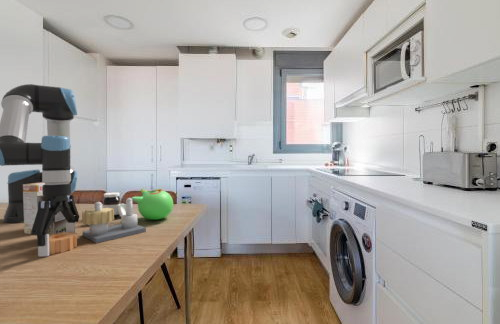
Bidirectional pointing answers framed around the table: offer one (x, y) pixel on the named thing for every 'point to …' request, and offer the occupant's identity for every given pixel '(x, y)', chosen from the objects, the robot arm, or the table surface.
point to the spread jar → (114, 204)
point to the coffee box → (55, 220)
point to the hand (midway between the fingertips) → (58, 248)
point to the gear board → (102, 216)
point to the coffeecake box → (31, 204)
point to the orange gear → (62, 242)
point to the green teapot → (154, 204)
